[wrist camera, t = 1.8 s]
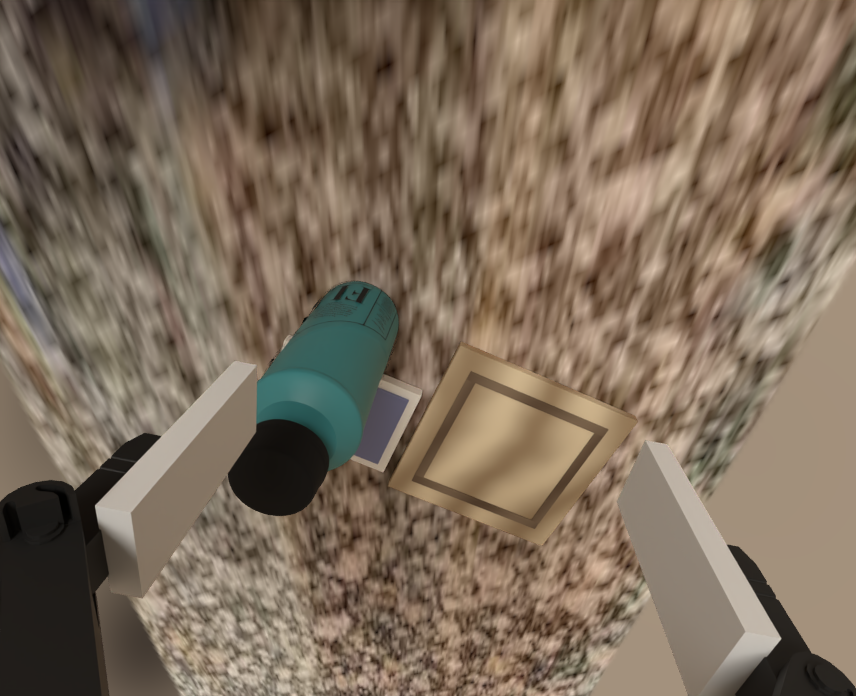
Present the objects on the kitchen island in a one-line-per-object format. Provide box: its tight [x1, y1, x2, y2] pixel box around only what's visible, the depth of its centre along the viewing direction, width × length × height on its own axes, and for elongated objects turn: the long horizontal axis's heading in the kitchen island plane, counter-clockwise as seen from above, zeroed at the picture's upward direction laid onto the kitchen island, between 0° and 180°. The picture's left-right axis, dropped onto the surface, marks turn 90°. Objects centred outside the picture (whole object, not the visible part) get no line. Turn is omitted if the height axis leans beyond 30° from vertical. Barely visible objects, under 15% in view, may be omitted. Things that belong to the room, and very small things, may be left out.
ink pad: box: [281, 335, 423, 472], centre depth 42 cm, size 12×9×1 cm
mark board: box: [388, 342, 638, 546], centre depth 43 cm, size 16×16×1 cm
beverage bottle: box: [228, 281, 399, 516], centre depth 30 cm, size 6×7×20 cm
